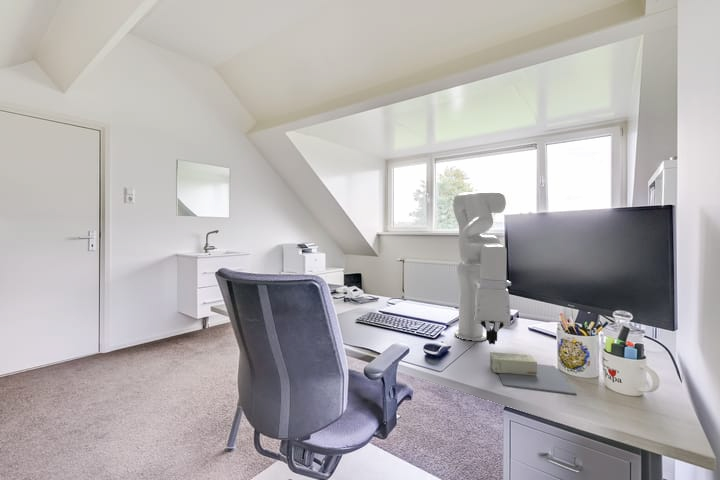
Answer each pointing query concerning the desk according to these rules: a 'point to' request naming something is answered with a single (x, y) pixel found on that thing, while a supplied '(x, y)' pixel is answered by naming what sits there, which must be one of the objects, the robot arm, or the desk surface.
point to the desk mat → (539, 380)
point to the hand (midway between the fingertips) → (491, 342)
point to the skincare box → (513, 363)
